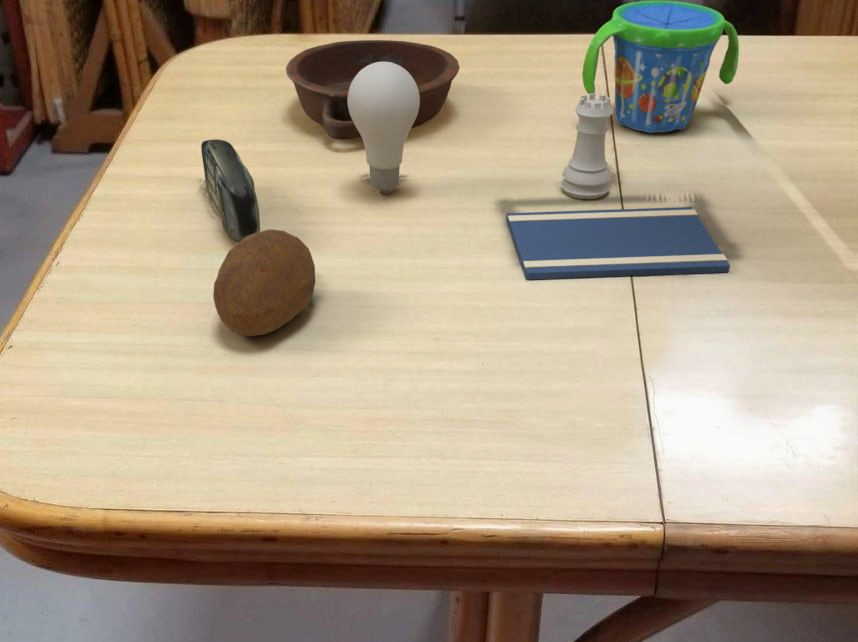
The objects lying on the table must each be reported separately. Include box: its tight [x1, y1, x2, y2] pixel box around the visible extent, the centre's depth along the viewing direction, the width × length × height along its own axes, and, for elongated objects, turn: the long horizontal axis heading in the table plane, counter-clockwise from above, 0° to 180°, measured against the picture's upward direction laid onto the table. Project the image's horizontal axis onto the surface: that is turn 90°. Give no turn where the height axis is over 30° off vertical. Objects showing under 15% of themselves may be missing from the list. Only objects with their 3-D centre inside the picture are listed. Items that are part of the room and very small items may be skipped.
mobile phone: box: [200, 139, 261, 243], centre depth 90 cm, size 5×3×15 cm
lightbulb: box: [347, 62, 420, 194], centre depth 92 cm, size 6×6×11 cm
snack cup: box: [581, 0, 740, 134], centre depth 105 cm, size 16×10×10 cm
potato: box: [212, 229, 316, 337], centre depth 77 cm, size 7×10×6 cm
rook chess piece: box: [560, 93, 614, 200], centre depth 93 cm, size 4×4×8 cm
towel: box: [505, 206, 731, 281], centre depth 87 cm, size 16×11×1 cm
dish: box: [285, 39, 460, 141], centre depth 109 cm, size 18×22×5 cm
